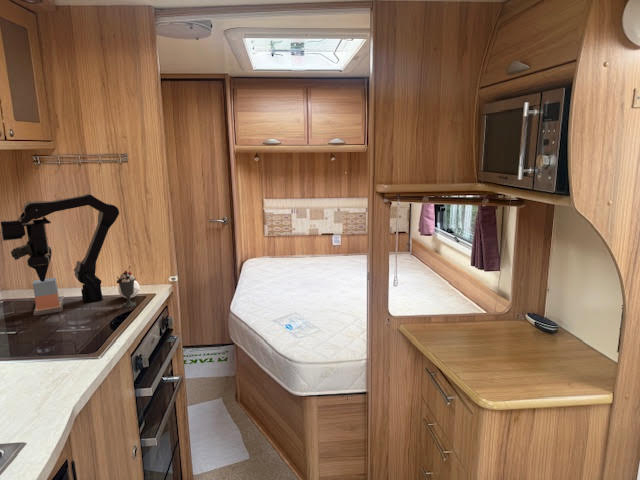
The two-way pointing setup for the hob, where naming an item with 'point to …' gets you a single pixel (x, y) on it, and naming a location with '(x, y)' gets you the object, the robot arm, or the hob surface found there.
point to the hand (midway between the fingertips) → (43, 278)
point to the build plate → (50, 310)
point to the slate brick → (45, 287)
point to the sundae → (127, 287)
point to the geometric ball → (136, 290)
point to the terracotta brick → (47, 301)
